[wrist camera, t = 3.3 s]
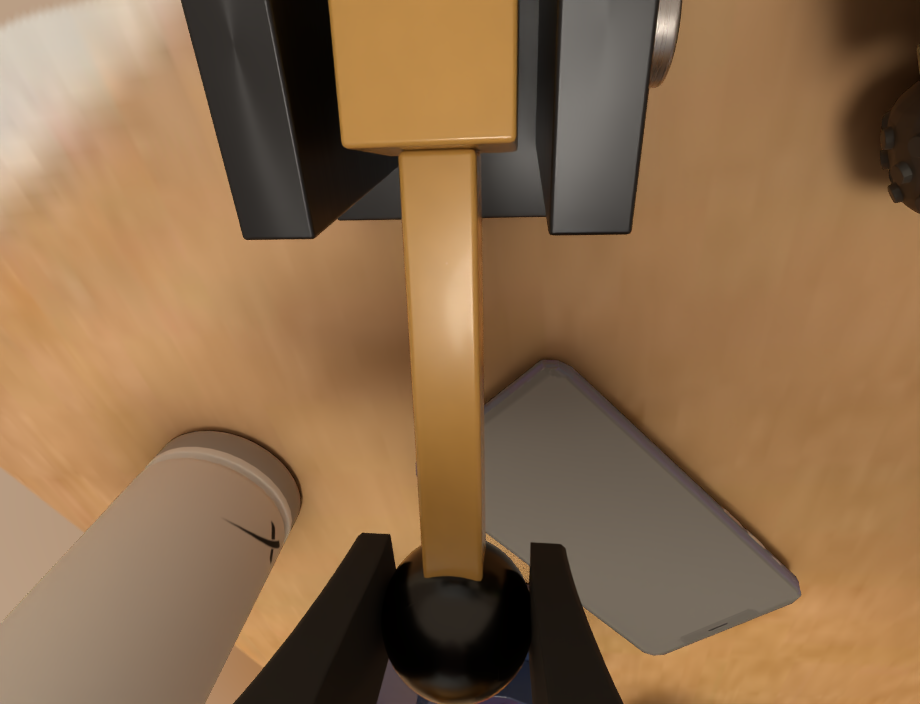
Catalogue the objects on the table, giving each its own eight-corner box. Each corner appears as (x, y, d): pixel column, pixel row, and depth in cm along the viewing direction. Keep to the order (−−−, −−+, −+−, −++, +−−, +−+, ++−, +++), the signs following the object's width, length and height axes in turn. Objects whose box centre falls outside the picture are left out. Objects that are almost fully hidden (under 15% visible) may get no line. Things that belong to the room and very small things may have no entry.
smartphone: (554, 357, 16) (814, 599, 20) (553, 342, 17) (803, 577, 21) (404, 475, 19) (652, 663, 23) (409, 458, 20) (648, 642, 24)
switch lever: (530, 617, 12) (533, 755, 9) (404, 608, 12) (369, 738, 9) (546, -47, 8) (561, -178, 5) (355, -32, 8) (264, -145, 5)
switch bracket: (621, 204, 14) (730, 364, 7) (349, 210, 15) (180, 357, 8) (664, -187, 10) (1031, -829, 3) (294, -148, 11) (-156, -556, 4)
